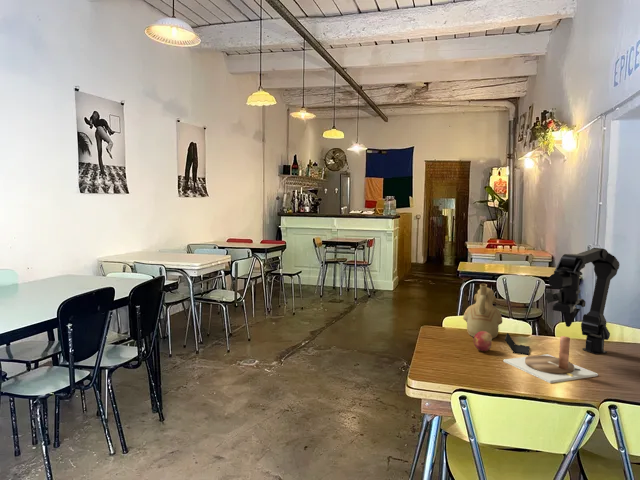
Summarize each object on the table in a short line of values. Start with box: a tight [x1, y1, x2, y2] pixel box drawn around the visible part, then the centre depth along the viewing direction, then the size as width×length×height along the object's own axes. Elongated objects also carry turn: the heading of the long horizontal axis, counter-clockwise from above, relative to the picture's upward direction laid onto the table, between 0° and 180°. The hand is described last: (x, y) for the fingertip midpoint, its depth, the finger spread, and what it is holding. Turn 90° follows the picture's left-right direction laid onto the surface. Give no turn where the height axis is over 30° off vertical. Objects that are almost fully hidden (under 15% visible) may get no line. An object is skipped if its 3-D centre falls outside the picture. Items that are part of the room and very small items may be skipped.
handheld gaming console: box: [504, 332, 531, 356], centre depth 189 cm, size 12×7×10 cm
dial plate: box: [502, 353, 599, 384], centre depth 168 cm, size 22×22×1 cm
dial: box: [525, 335, 575, 374], centre depth 167 cm, size 16×16×12 cm
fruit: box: [472, 331, 493, 352], centre depth 187 cm, size 8×8×8 cm
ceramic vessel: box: [462, 283, 503, 339], centre depth 209 cm, size 17×20×25 cm
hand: (567, 326), depth 178 cm, fingers closed
